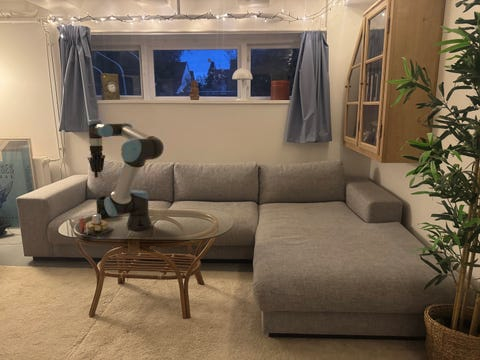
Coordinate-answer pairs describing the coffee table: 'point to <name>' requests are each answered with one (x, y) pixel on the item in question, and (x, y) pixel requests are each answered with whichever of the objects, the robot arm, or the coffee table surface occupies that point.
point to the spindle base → (97, 221)
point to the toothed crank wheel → (92, 227)
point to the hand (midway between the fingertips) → (97, 182)
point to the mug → (101, 206)
